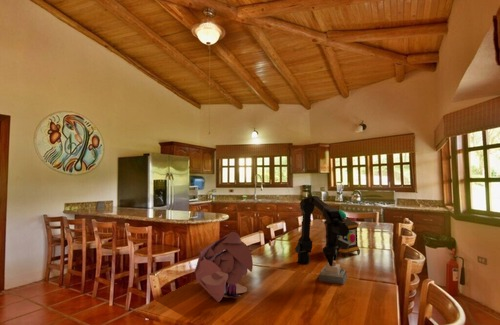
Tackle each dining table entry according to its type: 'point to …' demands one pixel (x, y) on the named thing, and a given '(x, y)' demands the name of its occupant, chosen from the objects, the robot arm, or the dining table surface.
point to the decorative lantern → (349, 235)
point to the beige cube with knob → (333, 268)
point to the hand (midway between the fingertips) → (332, 263)
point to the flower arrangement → (224, 267)
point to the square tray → (333, 276)
